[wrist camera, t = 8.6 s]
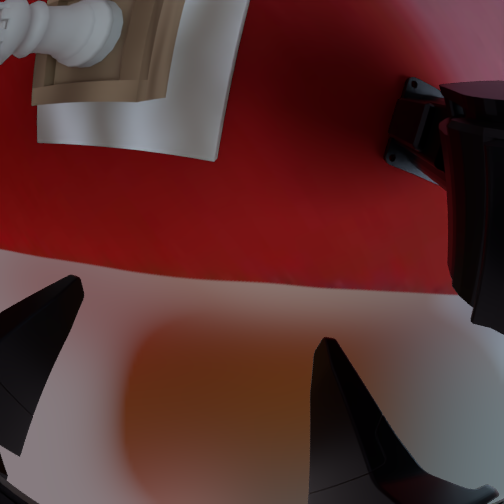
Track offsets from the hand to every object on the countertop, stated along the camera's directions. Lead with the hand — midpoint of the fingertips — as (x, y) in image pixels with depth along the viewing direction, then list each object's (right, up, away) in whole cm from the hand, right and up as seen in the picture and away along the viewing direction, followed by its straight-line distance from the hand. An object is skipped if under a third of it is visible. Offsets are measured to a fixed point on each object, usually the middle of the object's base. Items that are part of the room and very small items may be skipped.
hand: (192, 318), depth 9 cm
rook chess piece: (-7, +15, +1) cm, 16 cm away
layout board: (-7, +17, +4) cm, 18 cm away
